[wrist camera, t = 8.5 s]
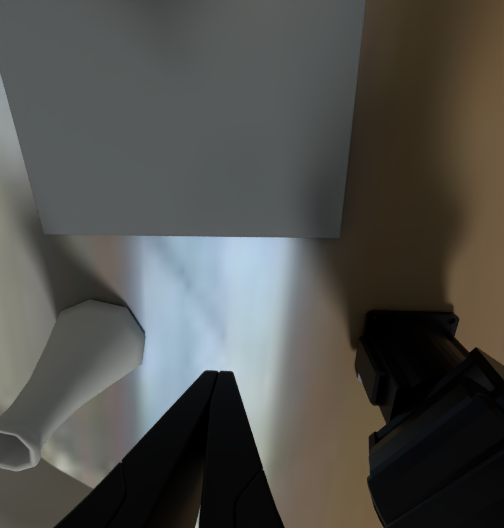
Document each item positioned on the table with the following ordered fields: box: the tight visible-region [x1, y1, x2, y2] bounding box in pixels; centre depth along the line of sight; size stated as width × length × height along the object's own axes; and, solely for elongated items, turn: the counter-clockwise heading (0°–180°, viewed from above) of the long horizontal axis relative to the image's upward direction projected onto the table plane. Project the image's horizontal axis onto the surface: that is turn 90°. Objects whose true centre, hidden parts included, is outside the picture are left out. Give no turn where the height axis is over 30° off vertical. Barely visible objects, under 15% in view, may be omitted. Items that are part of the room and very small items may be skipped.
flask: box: [0, 299, 145, 471], centre depth 20 cm, size 7×7×10 cm
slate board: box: [0, 0, 366, 238], centre depth 17 cm, size 20×20×1 cm
